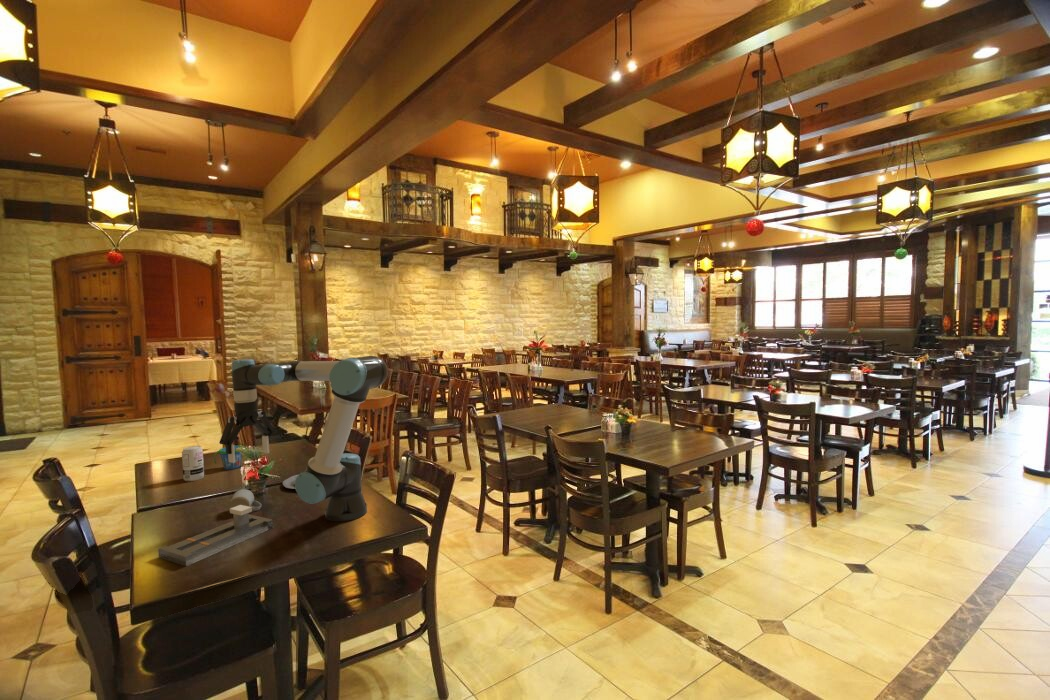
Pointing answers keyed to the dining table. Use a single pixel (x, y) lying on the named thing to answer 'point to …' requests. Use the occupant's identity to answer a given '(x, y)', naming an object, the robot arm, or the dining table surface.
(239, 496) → the ceramic mug
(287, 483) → the food plate
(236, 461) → the snack cup
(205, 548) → the slider track base
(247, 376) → the robot arm
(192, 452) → the supplement can
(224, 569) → the dining table surface
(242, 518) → the fader tab
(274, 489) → the dining table surface
